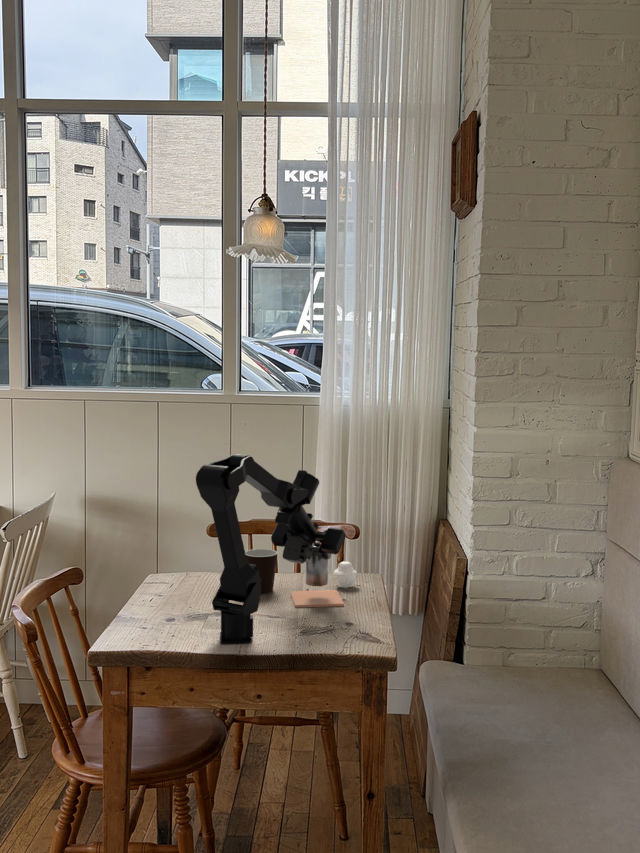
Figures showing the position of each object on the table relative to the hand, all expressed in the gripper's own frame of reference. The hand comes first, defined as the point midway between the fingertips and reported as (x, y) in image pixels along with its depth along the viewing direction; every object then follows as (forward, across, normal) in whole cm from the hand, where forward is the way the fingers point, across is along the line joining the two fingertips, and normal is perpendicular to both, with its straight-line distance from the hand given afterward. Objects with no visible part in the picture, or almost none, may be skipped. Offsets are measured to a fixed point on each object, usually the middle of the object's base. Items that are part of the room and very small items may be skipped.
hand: (319, 556), depth 209 cm
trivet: (+7, 0, -9) cm, 11 cm away
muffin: (+17, 0, +1) cm, 17 cm away
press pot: (+4, 0, -6) cm, 7 cm away
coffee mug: (+7, -17, -8) cm, 20 cm away
